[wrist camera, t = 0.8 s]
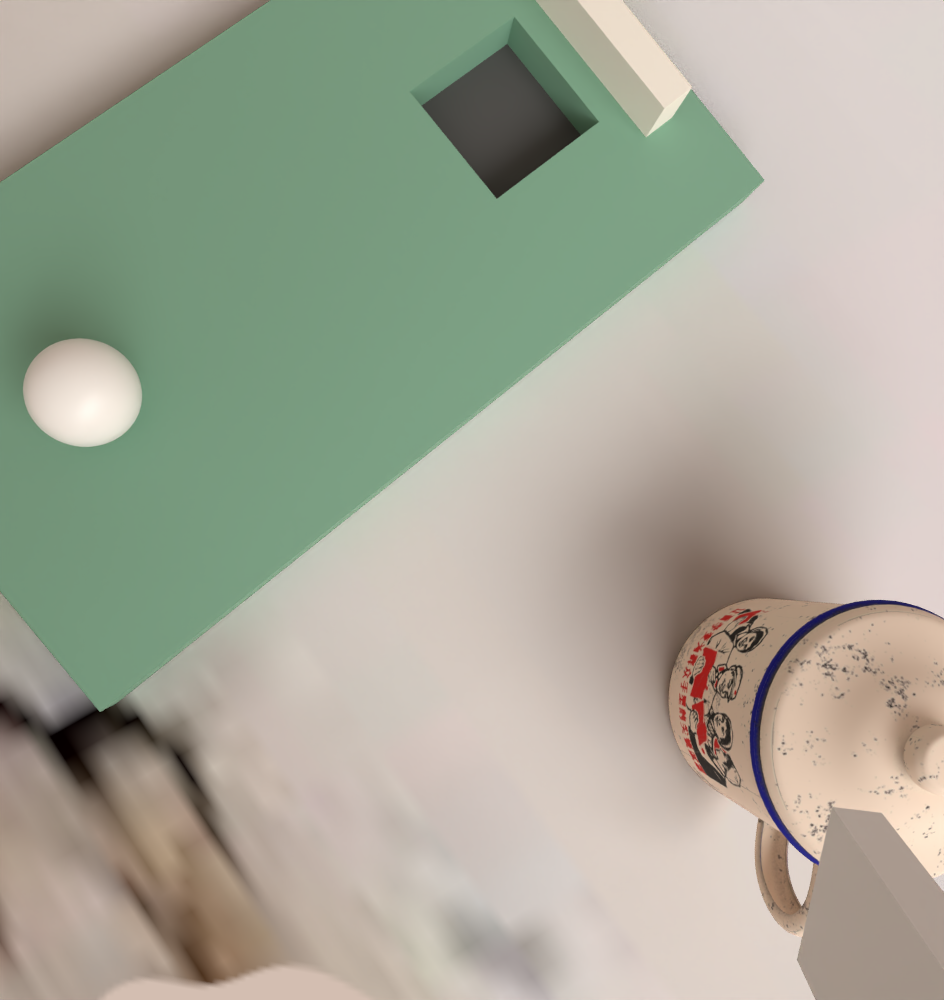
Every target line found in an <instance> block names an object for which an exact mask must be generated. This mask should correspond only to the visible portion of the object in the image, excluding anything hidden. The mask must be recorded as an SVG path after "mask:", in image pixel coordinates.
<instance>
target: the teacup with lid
mask: <svg viewBox="0 0 944 1000" xmlns="http://www.w3.org/2000/svg"><path fill="white" fill-rule="evenodd" d="M669 714H670V721H671V725H672V730H673V733H674V736H675V739H676V741H677V744H678V746H679V748H680V750H681V752H682V754H683V756H684V757H685V759H686V760H687V762H688V763H689V765H690V766H691V767H692V769H693V770H694V771H695V772H696V773H697V775H698V776H699V777H700V778H702V779H703V780H704V781H705V782H706V783H707V784H708V785H709V786H711V787H712V788H713V789H715V790H716V791H718V792H719V793H721V794H723V795H724V796H726V797H727V798H729V799H730V800H732V801H733V802H735V803H736V804H738V805H740V806H741V807H743V808H744V809H746V810H747V811H749V812H750V813H752V814H753V815H755V816H757V817H758V824H757V831H756V840H755V867H756V874H757V879H758V883H759V887H760V890H761V894H762V896H763V899H764V901H765V903H766V906H767V908H768V910H769V911H770V913H771V915H772V916H773V918H774V919H775V920H776V922H777V923H778V924H779V925H780V926H781V927H782V928H783V929H784V930H786V931H787V932H789V933H791V934H793V935H796V936H799V937H802V936H803V932H804V927H805V923H806V919H807V914H808V910H809V905H810V901H811V897H812V892H813V888H814V884H815V879H816V875H817V870H818V866H819V862H820V857H821V853H822V849H823V844H824V840H825V836H826V831H827V827H828V822H829V818H830V814H831V809H832V807H837V808H846V809H854V810H862V811H871V812H879V813H882V814H883V815H884V816H885V818H886V819H887V820H888V821H889V823H890V824H891V825H892V827H893V828H894V829H895V830H896V832H897V833H898V834H899V836H900V837H901V838H902V839H903V841H904V842H905V843H906V845H907V846H908V847H909V848H910V850H911V851H912V852H913V854H914V855H915V856H916V857H917V859H918V860H919V861H920V863H921V864H922V865H923V866H924V868H925V869H926V870H927V872H928V873H929V874H930V875H931V877H932V878H934V877H937V876H939V875H942V874H944V619H943V618H942V617H940V616H938V615H936V614H934V613H932V612H930V611H928V610H925V609H923V608H921V607H918V606H914V605H911V604H907V603H902V602H897V601H888V600H867V601H859V602H853V603H849V604H833V603H820V602H808V601H795V600H782V599H769V598H762V599H751V600H746V601H742V602H738V603H735V604H732V605H729V606H727V607H725V608H723V609H721V610H719V611H717V612H716V613H714V614H713V615H711V616H710V617H709V618H707V619H706V620H705V621H704V622H702V623H701V624H700V625H699V626H698V627H697V628H696V629H695V631H694V632H693V633H692V634H691V635H690V637H689V638H688V639H687V641H686V642H685V644H684V646H683V647H682V649H681V651H680V653H679V655H678V657H677V660H676V662H675V665H674V668H673V672H672V676H671V680H670V687H669ZM788 842H790V843H791V844H792V845H793V846H794V847H795V848H796V849H797V850H798V851H799V852H800V853H802V854H803V855H804V856H805V857H807V858H808V859H809V860H810V861H812V862H813V863H814V864H813V871H812V877H811V882H810V887H809V891H808V895H807V897H806V900H805V902H804V904H803V906H801V904H800V903H799V901H798V899H797V897H796V895H795V893H794V890H793V887H792V884H791V881H790V876H789V871H788Z"/></svg>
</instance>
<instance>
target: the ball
mask: <svg viewBox="0 0 944 1000" xmlns="http://www.w3.org/2000/svg"><path fill="white" fill-rule="evenodd" d="M23 396H24V401H25V405H26V408H27V411H28V413H29V414H30V416H31V418H32V419H33V421H34V422H35V423H36V425H37V426H38V427H39V428H40V429H41V430H42V431H43V432H45V433H46V434H47V435H49V436H51V437H52V438H54V439H55V440H58V441H60V442H62V443H65V444H68V445H73V446H78V447H93V446H99V445H103V444H106V443H109V442H111V441H113V440H116V439H117V438H119V437H120V436H122V435H123V434H124V433H125V432H126V431H127V430H128V429H129V428H130V427H131V426H132V425H133V423H134V422H135V420H136V418H137V416H138V414H139V411H140V408H141V403H142V388H141V383H140V380H139V377H138V374H137V372H136V370H135V369H134V367H133V366H132V364H131V363H130V362H129V360H128V359H127V358H126V357H125V356H124V355H123V354H121V353H120V352H119V351H118V350H116V349H114V348H113V347H111V346H109V345H107V344H105V343H102V342H99V341H96V340H91V339H83V338H76V339H68V340H63V341H60V342H57V343H54V344H52V345H50V346H48V347H47V348H45V349H44V350H43V351H41V352H40V353H39V354H38V355H37V356H36V357H35V358H34V360H33V361H32V362H31V364H30V366H29V367H28V369H27V372H26V374H25V378H24V382H23Z"/></svg>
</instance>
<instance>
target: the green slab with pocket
mask: <svg viewBox="0 0 944 1000" xmlns="http://www.w3.org/2000/svg"><path fill="white" fill-rule="evenodd" d="M691 88H692V86H691V85H690V84H689V83H688V81H687V80H686V79H685V78H684V76H683V75H682V74H681V73H680V71H679V70H678V69H677V68H676V66H675V65H674V64H673V63H672V61H671V60H670V59H669V58H668V56H667V55H666V54H665V53H664V51H663V50H662V49H661V48H660V46H659V45H658V44H657V43H656V42H655V40H654V39H653V38H652V37H651V35H650V34H649V33H648V32H647V30H646V29H645V28H644V27H643V25H642V24H641V23H640V22H639V20H638V19H637V18H636V17H635V15H634V14H633V13H632V12H631V10H630V9H629V8H628V7H627V5H626V4H625V3H624V2H623V1H622V0H270V1H269V2H267V3H266V4H264V5H263V6H261V7H260V8H258V9H257V10H255V11H254V12H252V13H251V14H249V15H248V16H246V17H245V18H243V19H242V20H240V21H239V22H237V23H236V24H234V25H233V26H231V27H230V28H228V29H227V30H226V31H224V32H223V33H221V34H220V35H218V36H217V37H215V38H214V39H212V40H211V41H209V42H208V43H206V44H205V45H203V46H202V47H200V48H199V49H197V50H196V51H194V52H193V53H191V54H190V55H188V56H187V57H185V58H184V59H182V60H181V61H180V62H178V63H177V64H175V65H174V66H172V67H171V68H169V69H168V70H166V71H165V72H163V73H162V74H160V75H159V76H157V77H156V78H154V79H153V80H151V81H150V82H148V83H147V84H145V85H144V86H142V87H141V88H139V89H138V90H136V91H135V92H134V93H132V94H131V95H129V96H128V97H126V98H125V99H123V100H122V101H120V102H119V103H117V104H116V105H114V106H113V107H111V108H110V109H108V110H107V111H105V112H104V113H102V114H101V115H99V116H98V117H96V118H95V119H93V120H92V121H90V122H89V123H87V124H86V125H85V126H83V127H82V128H80V129H79V130H77V131H76V132H74V133H73V134H71V135H70V136H68V137H67V138H65V139H64V140H62V141H61V142H59V143H58V144H56V145H55V146H53V147H52V148H50V149H49V150H47V151H46V152H44V153H43V154H41V155H40V156H39V157H37V158H36V159H34V160H33V161H31V162H30V163H28V164H27V165H25V166H24V167H22V168H21V169H19V170H18V171H16V172H15V173H13V174H12V175H10V176H9V177H7V178H6V179H4V180H3V181H1V182H0V592H1V593H2V594H3V595H4V597H5V598H6V599H7V600H8V601H9V603H10V604H11V605H12V606H13V608H14V609H15V610H16V611H17V612H18V614H19V615H20V616H21V617H22V618H23V620H24V621H25V622H26V623H27V624H28V626H29V627H30V628H31V629H32V630H33V632H34V633H35V634H36V635H37V637H38V638H39V639H40V640H41V641H42V643H43V644H44V645H45V646H46V647H47V649H48V650H49V651H50V652H51V653H52V655H53V656H54V657H55V658H56V659H57V661H58V662H59V663H60V664H61V666H62V667H63V668H64V669H65V670H66V672H67V673H68V674H69V675H70V676H71V678H72V679H73V680H74V681H75V682H76V684H77V685H78V686H79V687H80V688H81V690H82V691H83V692H84V693H85V695H86V696H87V697H88V698H89V699H90V701H91V702H92V703H93V704H94V705H95V707H96V708H97V709H98V710H99V711H100V712H101V711H103V710H104V709H106V708H108V707H110V706H112V705H114V704H116V703H117V702H119V701H120V700H121V699H122V698H124V697H125V696H126V695H127V694H129V693H130V692H131V691H132V690H134V689H135V688H136V687H137V686H139V685H140V684H141V683H142V682H144V681H145V680H146V679H147V678H149V677H150V676H151V675H152V674H154V673H155V672H156V671H157V670H159V669H160V668H161V667H162V666H164V665H165V664H166V663H167V662H169V661H170V660H171V659H172V658H174V657H175V656H176V655H177V654H179V653H180V652H181V651H182V650H184V649H185V648H186V647H187V646H189V645H190V644H191V643H192V642H194V641H195V640H196V639H197V638H199V637H200V636H201V635H202V634H204V633H205V632H206V631H207V630H209V629H210V628H211V627H212V626H214V625H215V624H216V623H217V622H218V621H220V620H221V619H222V618H223V617H225V616H226V615H227V614H228V613H230V612H231V611H232V610H233V609H235V608H236V607H237V606H238V605H240V604H241V603H242V602H243V601H245V600H246V599H247V598H248V597H250V596H251V595H252V594H253V593H255V592H256V591H257V590H258V589H260V588H261V587H262V586H263V585H265V584H266V583H267V582H268V581H270V580H271V579H272V578H273V577H275V576H276V575H277V574H278V573H280V572H281V571H282V570H283V569H285V568H286V567H287V566H288V565H290V564H291V563H292V562H293V561H295V560H296V559H297V558H298V557H300V556H301V555H302V554H303V553H305V552H306V551H307V550H308V549H310V548H311V547H312V546H313V545H315V544H316V543H317V542H318V541H320V540H321V539H322V538H323V537H325V536H326V535H327V534H328V533H330V532H331V531H332V530H333V529H335V528H336V527H337V526H338V525H340V524H341V523H342V522H343V521H345V520H346V519H347V518H348V517H350V516H351V515H352V514H353V513H355V512H356V511H357V510H358V509H360V508H361V507H362V506H363V505H365V504H366V503H367V502H368V501H370V500H371V499H372V498H373V497H375V496H376V495H377V494H378V493H380V492H381V491H382V490H383V489H385V488H386V487H387V486H388V485H390V484H391V483H392V482H393V481H395V480H396V479H397V478H398V477H400V476H401V475H402V474H403V473H405V472H406V471H407V470H408V469H410V468H411V467H412V466H413V465H415V464H416V463H417V462H418V461H420V460H421V459H422V458H423V457H425V456H426V455H427V454H428V453H430V452H431V451H432V450H433V449H435V448H436V447H437V446H438V445H440V444H441V443H442V442H443V441H444V440H446V439H447V438H448V437H449V436H451V435H452V434H453V433H454V432H456V431H457V430H458V429H459V428H461V427H462V426H463V425H464V424H466V423H467V422H468V421H469V420H471V419H472V418H473V417H474V416H476V415H477V414H478V413H479V412H481V411H482V410H483V409H484V408H486V407H487V406H488V405H489V404H491V403H492V402H493V401H494V400H496V399H497V398H498V397H499V396H501V395H502V394H503V393H504V392H506V391H507V390H508V389H509V388H511V387H512V386H513V385H514V384H516V383H517V382H518V381H519V380H521V379H522V378H523V377H524V376H526V375H527V374H528V373H529V372H531V371H532V370H533V369H534V368H536V367H537V366H538V365H539V364H541V363H542V362H543V361H544V360H546V359H547V358H548V357H549V356H551V355H552V354H553V353H554V352H556V351H557V350H558V349H559V348H561V347H562V346H563V345H564V344H566V343H567V342H568V341H569V340H571V339H572V338H573V337H574V336H576V335H577V334H578V333H579V332H581V331H582V330H583V329H584V328H586V327H587V326H588V325H589V324H591V323H592V322H593V321H594V320H596V319H597V318H598V317H599V316H601V315H602V314H603V313H604V312H606V311H607V310H608V309H609V308H611V307H612V306H613V305H614V304H616V303H617V302H618V301H619V300H621V299H622V298H623V297H624V296H626V295H627V294H628V293H629V292H631V291H632V290H633V289H634V288H636V287H637V286H638V285H639V284H641V283H642V282H643V281H644V280H646V279H647V278H648V277H649V276H651V275H652V274H653V273H654V272H656V271H657V270H658V269H659V268H661V267H662V266H663V265H664V264H665V263H667V262H668V261H669V260H670V259H672V258H673V257H674V256H675V255H677V254H678V253H679V252H680V251H682V250H683V249H684V248H685V247H687V246H688V245H689V244H690V243H692V242H693V241H694V240H695V239H697V238H698V237H699V236H700V235H702V234H703V233H704V232H705V231H707V230H708V229H709V228H710V227H712V226H713V225H714V224H715V223H717V222H718V221H719V220H720V219H722V218H723V217H724V216H725V215H727V214H728V213H729V212H730V211H732V210H733V209H734V208H735V207H737V206H738V205H739V204H740V203H742V202H743V201H744V200H745V199H746V198H747V197H748V196H749V195H750V194H751V193H752V192H753V191H754V190H755V189H756V188H757V187H758V186H759V185H760V184H761V183H762V182H763V181H764V179H763V178H762V177H761V175H760V174H759V173H758V172H757V170H756V169H755V168H754V167H753V165H752V164H751V163H750V162H749V160H748V159H747V158H746V157H745V155H744V154H743V153H742V152H741V150H740V149H739V148H738V147H737V145H736V144H735V143H734V142H733V140H732V139H731V138H730V137H729V135H728V134H727V133H726V132H725V131H724V129H723V128H722V127H721V126H720V124H719V123H718V122H717V121H716V119H715V118H714V117H713V116H712V114H711V113H710V112H709V111H708V109H707V108H706V107H705V106H704V104H703V103H702V102H701V101H700V99H699V98H698V97H697V96H696V94H695V93H694V92H693V91H692V90H691ZM76 338H83V339H91V340H96V341H99V342H102V343H105V344H107V345H109V346H111V347H113V348H114V349H116V350H118V351H119V352H120V353H121V354H123V355H124V356H125V357H126V358H127V359H128V360H129V362H130V363H131V364H132V366H133V367H134V369H135V370H136V372H137V374H138V377H139V380H140V383H141V388H142V403H141V408H140V411H139V414H138V416H137V418H136V420H135V422H134V423H133V425H132V426H131V427H130V428H129V429H128V430H127V431H126V432H125V433H124V434H123V435H122V436H120V437H119V438H117V439H116V440H113V441H111V442H109V443H106V444H103V445H99V446H93V447H78V446H73V445H68V444H65V443H62V442H60V441H58V440H55V439H54V438H52V437H51V436H49V435H47V434H46V433H45V432H43V431H42V430H41V429H40V428H39V427H38V426H37V425H36V423H35V422H34V421H33V419H32V418H31V416H30V414H29V413H28V411H27V408H26V405H25V401H24V396H23V382H24V378H25V374H26V372H27V369H28V367H29V366H30V364H31V362H32V361H33V360H34V358H35V357H36V356H37V355H38V354H39V353H40V352H41V351H43V350H44V349H45V348H47V347H48V346H50V345H52V344H54V343H57V342H60V341H63V340H68V339H76Z"/></svg>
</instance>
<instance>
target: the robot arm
mask: <svg viewBox="0 0 944 1000" xmlns="http://www.w3.org/2000/svg"><path fill="white" fill-rule="evenodd" d="M797 961H798V963H799V965H800V967H801V969H802V971H803V974H804V976H805V978H806V980H807V982H808V984H809V986H810V989H811V991H812V993H813V995H814V997H815V999H816V1000H944V892H943V891H942V890H941V888H940V887H939V886H938V884H937V883H936V882H935V881H934V879H933V878H932V877H931V875H930V874H929V873H928V872H927V870H926V869H925V868H924V866H923V865H922V864H921V863H920V861H919V860H918V859H917V857H916V856H915V855H914V854H913V852H912V851H911V850H910V848H909V847H908V846H907V845H906V843H905V842H904V841H903V839H902V838H901V837H900V836H899V834H898V833H897V832H896V830H895V829H894V828H893V827H892V825H891V824H890V823H889V821H888V820H887V819H886V818H885V816H884V815H883V814H882V813H879V812H871V811H862V810H854V809H846V808H837V807H832V809H831V814H830V818H829V822H828V827H827V831H826V836H825V840H824V844H823V849H822V853H821V857H820V862H819V866H818V870H817V875H816V879H815V884H814V888H813V892H812V897H811V901H810V905H809V910H808V914H807V919H806V923H805V927H804V932H803V936H802V940H801V945H800V949H799V954H798V958H797Z"/></svg>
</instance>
